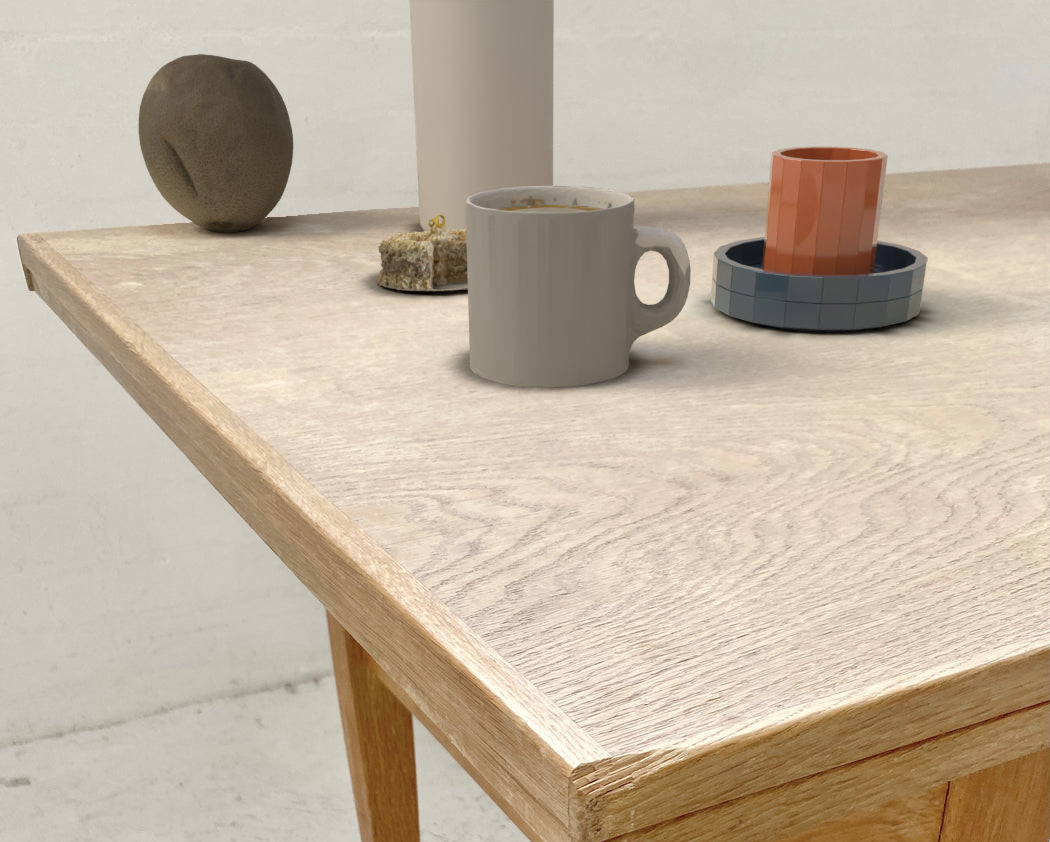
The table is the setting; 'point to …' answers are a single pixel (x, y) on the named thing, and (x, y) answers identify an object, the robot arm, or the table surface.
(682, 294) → the coffee mug
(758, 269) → the bowl
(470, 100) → the cylinder vase
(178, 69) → the brown rounded stone
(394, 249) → the cake
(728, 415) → the table surface
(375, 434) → the table surface
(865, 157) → the tumbler
